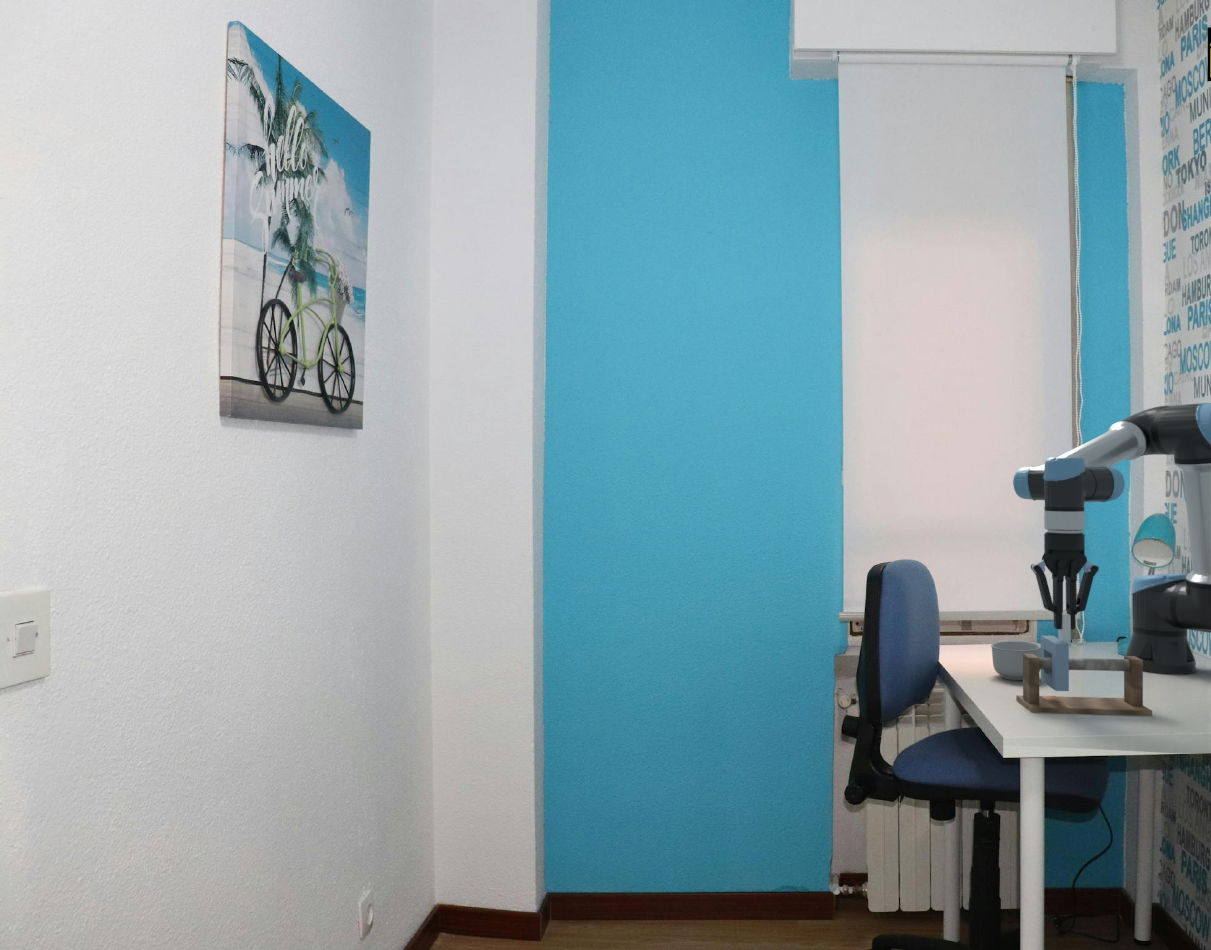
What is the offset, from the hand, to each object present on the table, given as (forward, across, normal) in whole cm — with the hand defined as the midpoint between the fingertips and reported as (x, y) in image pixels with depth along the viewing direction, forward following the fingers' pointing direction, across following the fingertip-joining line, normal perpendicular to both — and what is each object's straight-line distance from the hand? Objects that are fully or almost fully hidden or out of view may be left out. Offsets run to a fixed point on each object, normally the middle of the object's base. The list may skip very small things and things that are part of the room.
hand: (1064, 645), depth 193 cm
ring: (+9, +2, 0) cm, 9 cm away
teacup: (+13, +2, -29) cm, 32 cm away
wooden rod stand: (+13, -3, 0) cm, 13 cm away
